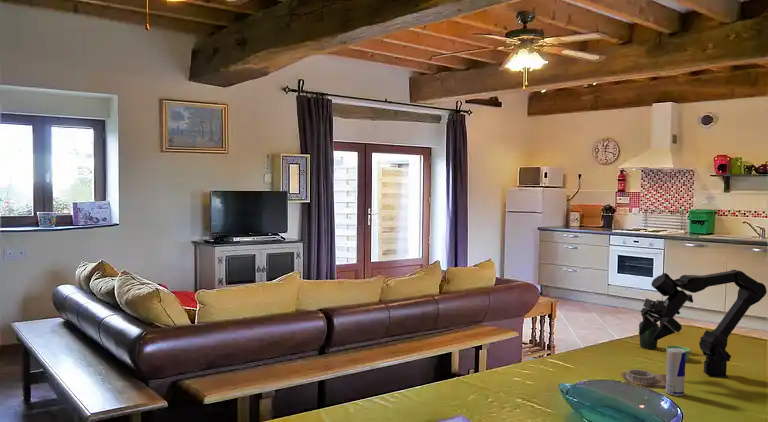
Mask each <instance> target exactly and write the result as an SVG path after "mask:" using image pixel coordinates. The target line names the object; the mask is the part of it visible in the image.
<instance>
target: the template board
mask: <svg viewBox="0 0 768 422" xmlns="http://www.w3.org/2000/svg"><path fill="white" fill-rule="evenodd" d="M620 375H621V377H622V378H623V379H624V380H625V382H626V383H627V382H628V383H633V384H637V385H641V386H645V387H644V388H653V389H655V388H656V389H666V374H665V373H664V374H663V373H662V374H661V373H659V374H658V373H654V372H652V371H649V370H644V369H634V368H633V369H628V370H627V371H626V372H623V371H622V372H620ZM628 383H627V384H628Z"/></svg>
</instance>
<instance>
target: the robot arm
mask: <svg viewBox="0 0 768 422" xmlns="http://www.w3.org/2000/svg"><path fill="white" fill-rule="evenodd" d="M731 283H734V285H735V286H736V287H738V290H737V297H736V300H735V301H734V302H733V304H732V305H731V307H730V308H729V309H728V310H727V312H726V313H725V315H724V316H723V318H722V319H721V321H720V322H719V323H718V325H717V326H716V328H714V329H713V330H705V331H704V332H703V335H702V336H701V337H700V338H699V339H700V340H699V343H698V345H699V348H700V350H701V352H702V354H703V356H705V360H704V361H703V373H704V374H706V375H707V377H710V378H729V376H728V375H727V363H728V362H730V360H731V357H732V355H731V354H730V353H729V352H728V351H727V350H726V349H727V346H728V339H729V337H730V335H731V334H732V333H733V331H734V330H735V328H736V327H737V325H738V324H739V323H740V321H741V320H742V319H743V317H744V315H745V314H746V313H747V312H748V310H749V309H750V308H751V307H752V306H754V305H755V304H757V303H759V302H760V301H761V300H762V299H763V298H764V297H765V296H766V295H767V292H768V290H767V287H766V285H765V284H764V283H763V282H758V281H757V280H755V279H754V278H752V277H750V276H749V275H748V274H746V273H745V272H743V271H742V270H737V269H731V270H727V271H722V272H715V273H710V274H705V275H697V274H683V275H681V276H679V277H678V278H676V279H673V278H672V277H671V276H670V275H669V274H668V273H666V272H663V273H662V274H660V275H657V276H656V277H655V278H654V279H653V280H652V282H651V287H652V288H653V289H655V290H656V291H657V292H658V293H659V294H660V295H661V296H663V297H666V298H665V299H664V300H660V299H655V300H653V299H650V298H645V301H644V303H643V306H642V307H643V308H642V309H641V310H640V313H641V314H640V316H641V317H642V321H641V322H642V325H641V328H640V330H639V329H638V335H639V334H640V335H642V334H644V333H645V332H647V331H648V330H649V329H651V328H652V327H654V326H655V325H656V324H655V323H657V324H658V322H659V329H658V330H657V332H656V333H655V335H654V336H653V338H652V341H657V340H661V339H663V338H665V337H669V336H670V335H673V334H676V333H680V331H681V330H682V329H683V327H682V326H683V325H682V324H681V323H680V322H678V321H677V320H676V319H675V318H674V317H675V316H676V315H680V314H681V312H680V310H681V308H682V307H683V306H684V305H685V303H686V302H688V303H694V299H693V295H692V294H696V293H699V292H701V291H704V290H705V289H707V288H709V287H714V286H720V285H726V284H731ZM687 292H689V293H687ZM690 293H691V294H690ZM645 307H646V308H645ZM651 309H652V310H651ZM640 335H639V336H640ZM657 342H658V341H657Z"/></svg>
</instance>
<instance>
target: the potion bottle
mask: <svg viewBox="0 0 768 422" xmlns="http://www.w3.org/2000/svg"><path fill="white" fill-rule="evenodd" d="M644 308H646V307H644ZM651 310H652V309H651ZM655 324H656V325H655V326H654V327H652V328H651V329H649V330H648V331H647V332H645V333H644V334H642V335H640V334H639V333H638V335H639V346H640V348H641V349H643V350H644V349H645V350H655V349H657V348H658V347H657V346H658V340H657V341H652V338H653V336H654V335H655V333H656V332H657V330H658V329H659V327H660V324H658V322H657V323H655ZM641 325H642V321H640V322H639V324H638V331H639V330H640V328H641Z"/></svg>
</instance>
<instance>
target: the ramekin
mask: <svg viewBox="0 0 768 422" xmlns="http://www.w3.org/2000/svg"><path fill="white" fill-rule="evenodd" d="M668 348H678V349H682V350H685V353H686V359H685V362H688V361H689V360H690V354H691V349H690V348H689V347H686V346H681V345H667V346H666V347H665V350H666V352H667V351H668Z"/></svg>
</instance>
